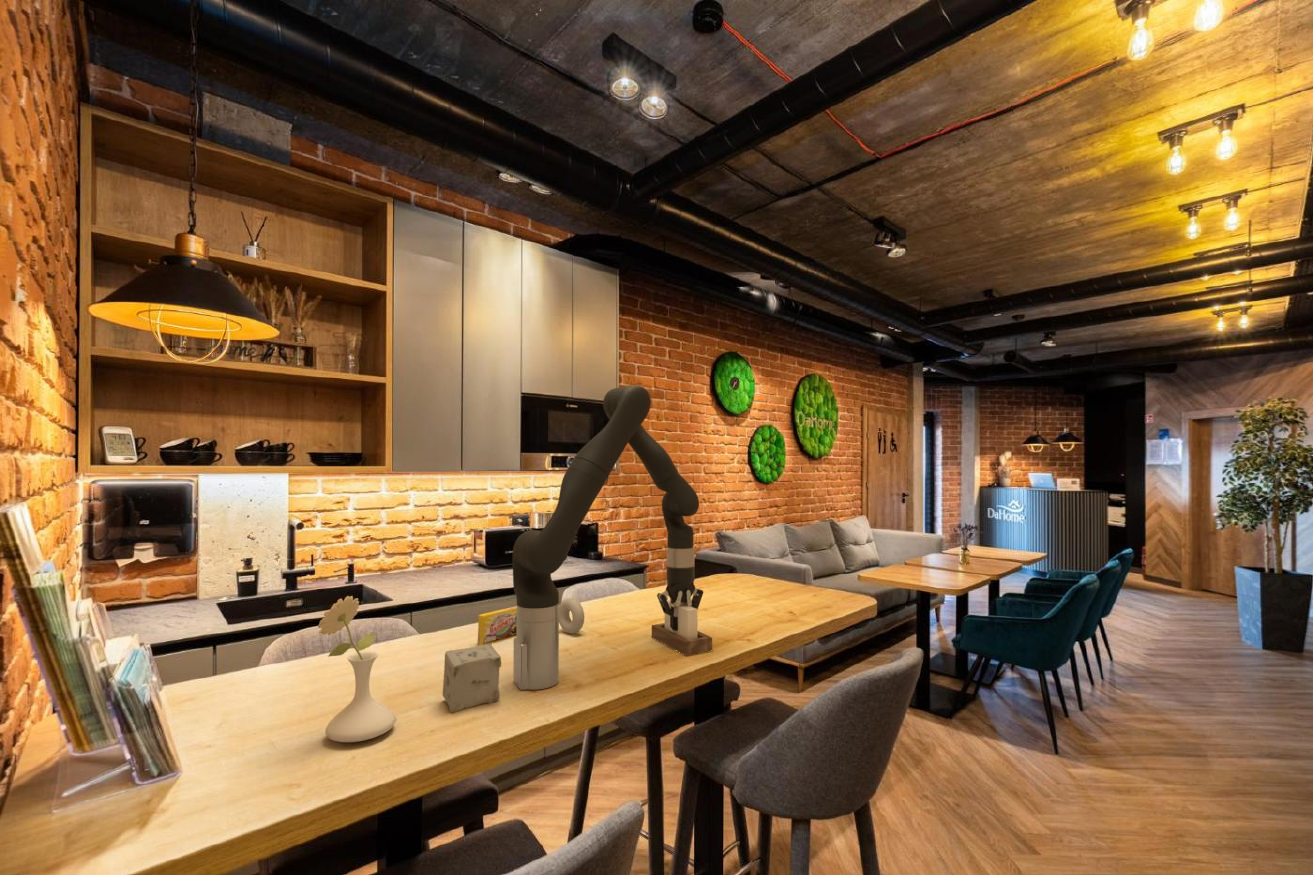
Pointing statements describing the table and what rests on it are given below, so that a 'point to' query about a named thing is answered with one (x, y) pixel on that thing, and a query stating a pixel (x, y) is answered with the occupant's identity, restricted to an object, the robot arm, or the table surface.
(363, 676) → the flower in vase
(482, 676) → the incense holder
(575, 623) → the donut
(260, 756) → the table surface
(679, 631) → the white rectangular block
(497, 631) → the candy box
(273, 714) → the table surface
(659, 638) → the brown rectangular tray
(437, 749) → the table surface
